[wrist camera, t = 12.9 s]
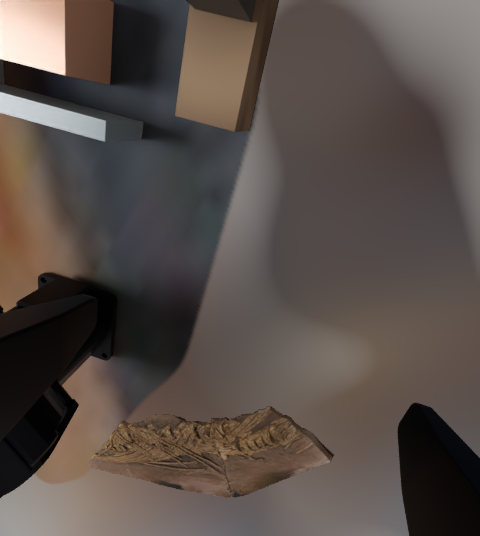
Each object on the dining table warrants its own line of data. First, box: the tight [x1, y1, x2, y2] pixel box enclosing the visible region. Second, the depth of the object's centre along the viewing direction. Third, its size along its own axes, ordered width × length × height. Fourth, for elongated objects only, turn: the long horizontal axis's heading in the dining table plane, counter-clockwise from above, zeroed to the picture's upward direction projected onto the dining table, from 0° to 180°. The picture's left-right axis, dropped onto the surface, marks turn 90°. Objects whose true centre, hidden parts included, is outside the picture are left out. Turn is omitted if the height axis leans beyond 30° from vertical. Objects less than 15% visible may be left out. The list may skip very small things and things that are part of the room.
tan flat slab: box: [89, 406, 334, 498], centre depth 31 cm, size 26×11×1 cm, turn 107°
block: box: [0, 0, 114, 85], centre depth 17 cm, size 4×4×4 cm
